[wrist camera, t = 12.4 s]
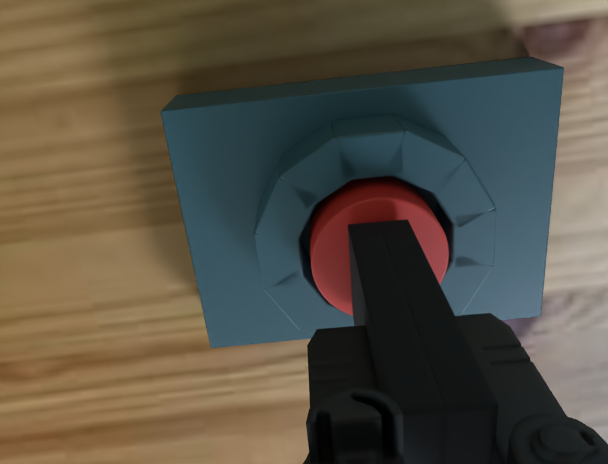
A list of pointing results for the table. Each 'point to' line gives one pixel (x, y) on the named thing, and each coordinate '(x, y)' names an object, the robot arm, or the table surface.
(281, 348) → the table surface
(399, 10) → the table surface
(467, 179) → the button box
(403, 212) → the button
